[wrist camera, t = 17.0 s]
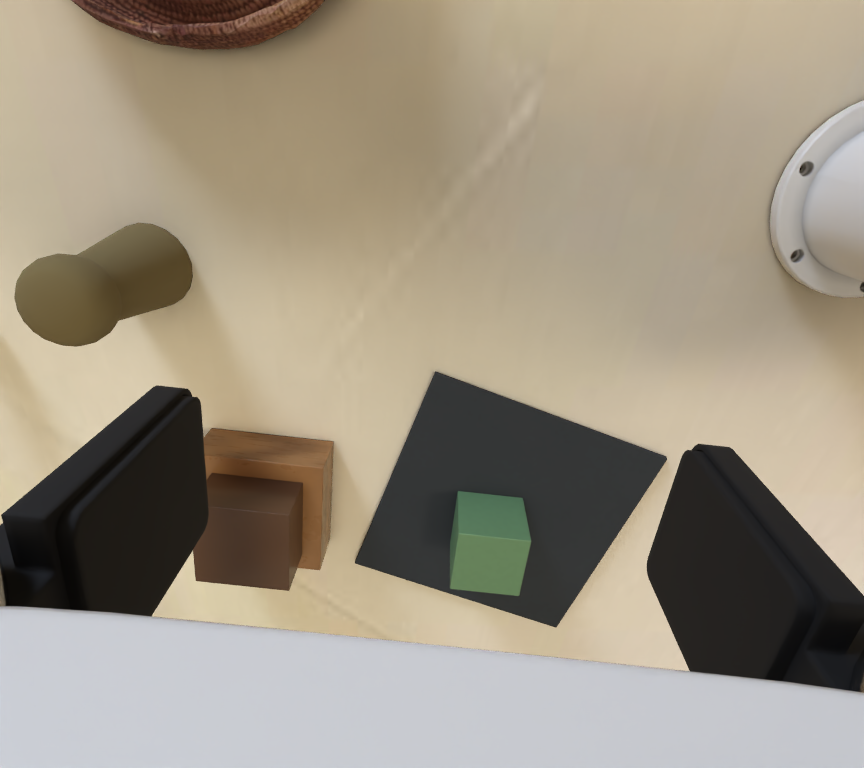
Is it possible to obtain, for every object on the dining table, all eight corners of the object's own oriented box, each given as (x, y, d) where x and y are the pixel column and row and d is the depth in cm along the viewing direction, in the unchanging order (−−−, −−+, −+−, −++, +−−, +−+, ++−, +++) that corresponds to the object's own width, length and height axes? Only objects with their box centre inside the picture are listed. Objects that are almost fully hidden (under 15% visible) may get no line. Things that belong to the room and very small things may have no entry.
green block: (523, 497, 47) (531, 541, 42) (512, 549, 49) (519, 596, 44) (457, 490, 47) (458, 533, 42) (450, 542, 49) (449, 589, 44)
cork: (190, 315, 42) (106, 372, 31) (108, 296, 41) (-3, 347, 31) (195, 234, 39) (106, 268, 29) (108, 213, 39) (-13, 240, 29)
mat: (665, 456, 45) (667, 459, 45) (555, 624, 53) (556, 627, 53) (435, 371, 43) (435, 373, 42) (355, 560, 51) (354, 563, 50)
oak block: (333, 441, 46) (323, 468, 42) (329, 538, 50) (320, 570, 46) (211, 427, 45) (190, 453, 42) (217, 526, 49) (198, 557, 46)
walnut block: (303, 482, 42) (289, 515, 39) (302, 554, 45) (289, 591, 42) (211, 472, 42) (188, 504, 39) (216, 545, 45) (195, 581, 42)
